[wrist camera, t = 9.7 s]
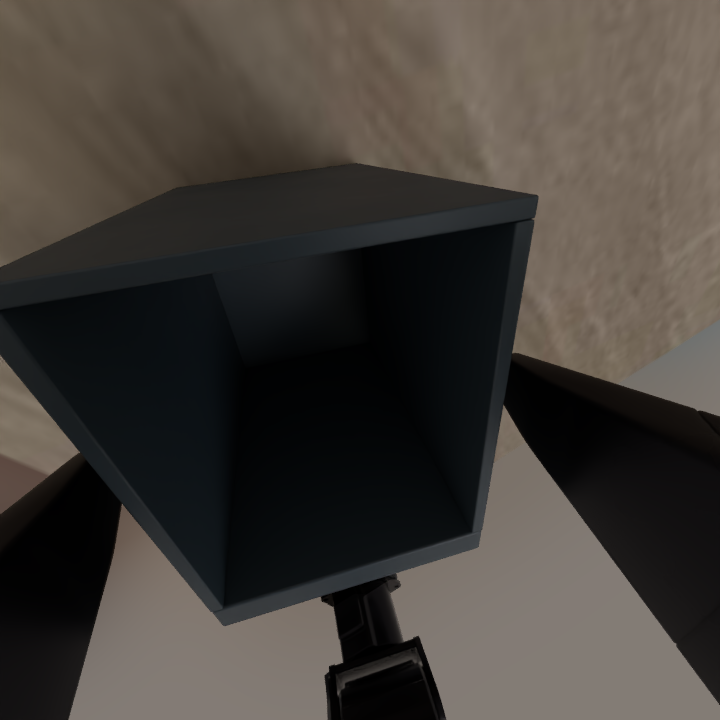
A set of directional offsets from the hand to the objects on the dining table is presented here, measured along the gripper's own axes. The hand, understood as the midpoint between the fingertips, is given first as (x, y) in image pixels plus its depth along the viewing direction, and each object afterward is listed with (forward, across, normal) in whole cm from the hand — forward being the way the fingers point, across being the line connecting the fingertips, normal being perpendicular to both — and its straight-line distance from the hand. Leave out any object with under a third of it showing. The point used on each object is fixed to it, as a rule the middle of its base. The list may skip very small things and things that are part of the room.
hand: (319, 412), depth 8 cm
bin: (+9, 0, +5) cm, 10 cm away
